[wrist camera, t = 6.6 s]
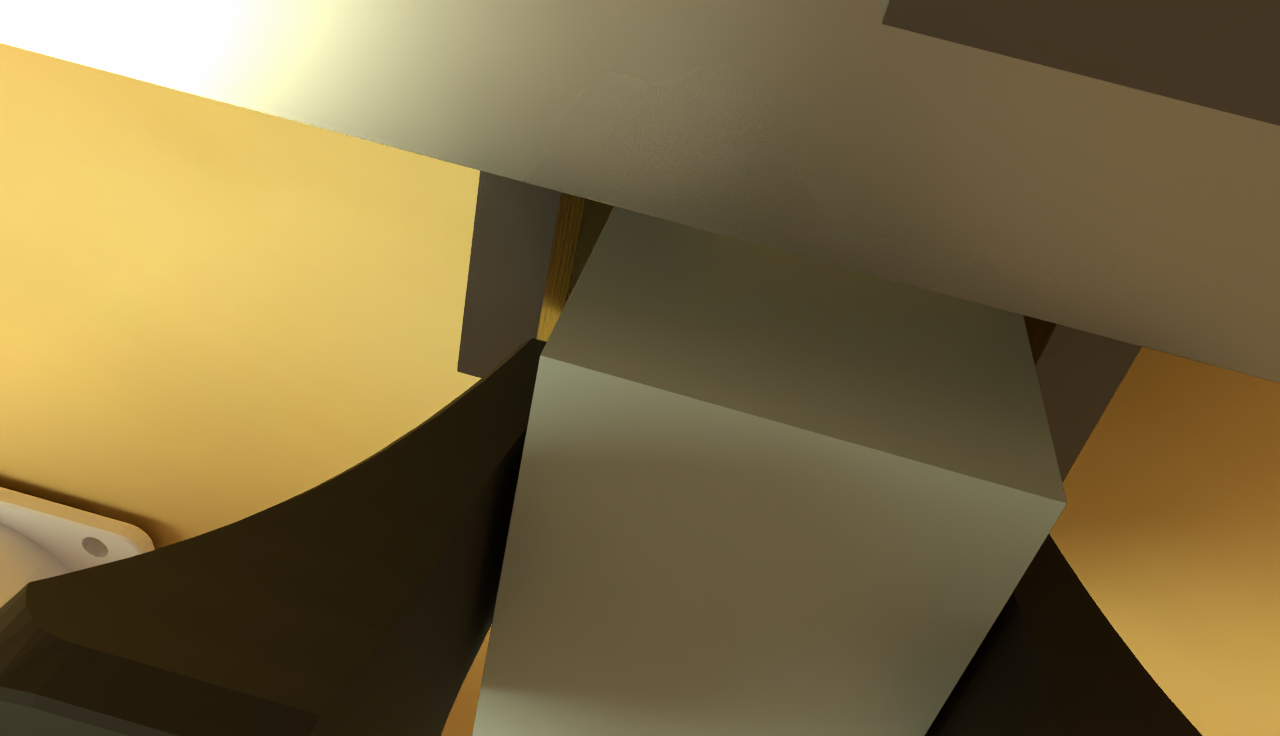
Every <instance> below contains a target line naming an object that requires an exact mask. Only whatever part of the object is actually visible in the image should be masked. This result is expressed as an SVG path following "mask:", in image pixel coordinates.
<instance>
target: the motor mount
mask: <svg viewBox="0 0 1280 736" xmlns="http://www.w3.org/2000/svg"><path fill="white" fill-rule="evenodd" d="M0 43H3V44H7V45H11V46H15V47H19V48H22V49H26V50H30V51H34V52H37V53H41V54H45V55H49V56H52V57H56V58H60V59H64V60H67V61H71V62H75V63H79V64H82V65H86V66H90V67H94V68H97V69H101V70H105V71H109V72H112V73H116V74H120V75H124V76H127V77H131V78H135V79H139V80H142V81H146V82H150V83H154V84H158V85H161V86H165V87H169V88H173V89H176V90H180V91H184V92H188V93H191V94H195V95H199V96H203V97H206V98H210V99H214V100H218V101H221V102H225V103H229V104H233V105H236V106H240V107H244V108H248V109H251V110H255V111H259V112H263V113H266V114H270V115H274V116H278V117H281V118H285V119H289V120H293V121H297V122H300V123H304V124H308V125H312V126H315V127H319V128H323V129H327V130H330V131H334V132H338V133H342V134H345V135H349V136H353V137H357V138H360V139H364V140H368V141H372V142H375V143H379V144H383V145H387V146H390V147H394V148H398V149H402V150H405V151H409V152H413V153H417V154H420V155H424V156H428V157H432V158H436V159H439V160H443V161H447V162H451V163H454V164H458V165H462V166H466V167H469V168H473V169H477V170H480V178H479V187H478V195H477V204H476V213H475V221H474V230H473V239H472V247H471V256H470V265H469V273H468V282H467V291H466V299H465V308H464V317H463V325H462V334H461V343H460V351H459V360H458V369H457V371H458V372H461V373H465V374H469V375H472V376H476V377H480V378H483V377H484V376H485V375H487V374H488V373H489V372H490V371H491V370H493V369H494V368H495V367H496V366H497V365H498V364H500V363H501V362H502V361H503V360H504V359H505V358H506V357H508V356H509V355H510V354H511V353H512V352H513V351H514V350H515V349H516V348H517V347H519V346H520V345H521V344H522V343H523V342H525V341H527V340H529V339H531V338H535V339H538V340H542V341H546V342H547V341H548V339H549V337H550V335H551V333H552V331H553V329H554V327H555V324H556V322H557V320H558V318H559V316H560V314H561V312H562V310H563V308H564V306H565V304H566V302H567V297H568V291H569V286H570V280H571V275H572V269H573V264H574V258H575V253H576V247H577V242H578V236H579V231H580V225H581V220H582V215H583V209H584V204H585V198H586V199H590V200H593V201H597V202H601V203H605V204H608V205H612V206H616V207H620V208H623V209H627V210H631V211H635V212H638V213H642V214H646V215H650V216H653V217H657V218H661V219H665V220H668V221H672V222H676V223H680V224H683V225H687V226H691V227H695V228H698V229H702V230H706V231H710V232H714V233H717V234H721V235H725V236H729V237H732V238H736V239H740V240H744V241H747V242H751V243H755V244H759V245H762V246H766V247H770V248H774V249H777V250H781V251H785V252H789V253H792V254H796V255H800V256H804V257H807V258H811V259H815V260H819V261H822V262H826V263H830V264H834V265H837V266H841V267H845V268H849V269H853V270H856V271H860V272H864V273H868V274H871V275H875V276H879V277H883V278H886V279H890V280H894V281H898V282H901V283H905V284H909V285H913V286H916V287H920V288H924V289H928V290H931V291H935V292H939V293H943V294H946V295H950V296H954V297H958V298H961V299H965V300H969V301H973V302H976V303H980V304H984V305H988V306H992V307H995V308H999V309H1003V310H1007V311H1010V312H1014V313H1018V314H1022V315H1023V317H1024V321H1025V326H1026V330H1027V334H1028V338H1029V343H1030V347H1031V351H1032V356H1033V360H1034V364H1035V368H1036V373H1037V377H1038V381H1039V386H1040V390H1041V394H1042V398H1043V403H1044V407H1045V411H1046V416H1047V420H1048V424H1049V428H1050V433H1051V437H1052V441H1053V446H1054V450H1055V454H1056V458H1057V463H1058V467H1059V471H1060V476H1061V480H1062V482H1063V481H1064V479H1065V477H1066V476H1067V474H1068V472H1069V470H1070V469H1071V467H1072V465H1073V464H1074V462H1075V460H1076V458H1077V457H1078V455H1079V453H1080V452H1081V450H1082V448H1083V446H1084V445H1085V443H1086V441H1087V440H1088V438H1089V436H1090V434H1091V433H1092V431H1093V429H1094V428H1095V426H1096V424H1097V422H1098V421H1099V419H1100V417H1101V416H1102V414H1103V412H1104V411H1105V409H1106V407H1107V405H1108V404H1109V402H1110V400H1111V399H1112V397H1113V395H1114V393H1115V392H1116V390H1117V388H1118V387H1119V385H1120V383H1121V381H1122V380H1123V378H1124V376H1125V375H1126V373H1127V371H1128V369H1129V368H1130V366H1131V364H1132V363H1133V361H1134V359H1135V357H1136V356H1137V354H1138V352H1139V351H1140V349H1141V347H1146V348H1149V349H1153V350H1157V351H1161V352H1164V353H1168V354H1172V355H1176V356H1179V357H1183V358H1187V359H1191V360H1194V361H1198V362H1202V363H1206V364H1209V365H1213V366H1217V367H1221V368H1224V369H1228V370H1232V371H1236V372H1239V373H1243V374H1247V375H1251V376H1254V377H1258V378H1262V379H1266V380H1270V381H1273V382H1277V383H1280V0H0Z"/></svg>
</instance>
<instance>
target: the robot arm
mask: <svg viewBox="0 0 1280 736" xmlns="http://www.w3.org/2000/svg"><path fill="white" fill-rule="evenodd" d="M546 343H547V342H546V341H542V340H538V339H535V338H531V339H529V340H527V341H525V342H523V343H522V344H521V345H520V346H519V347H517V348H516V349H515V350H514V351H513V352H512V353H511V354H510V355H509V356H508V357H506V358H505V359H504V360H503V361H502V362H501V363H500V364H498V365H497V366H496V367H495V368H494V369H493V370H491V371H490V372H489V373H488V374H487V375H485V376H484V377H483V378H482V379H480V380H479V381H478V382H477V383H475V384H474V385H473V386H472V387H471V388H469V389H468V390H467V391H465V392H464V393H463V394H461V395H460V396H459V397H457V398H456V399H455V400H453V401H452V402H451V403H449V404H448V405H447V406H445V407H444V408H443V409H441V410H440V411H439V412H437V413H436V414H435V415H433V416H432V417H430V418H429V419H428V420H426V421H425V422H423V423H422V424H420V425H419V426H417V427H416V428H414V429H413V430H411V431H410V432H408V433H407V434H405V435H404V436H402V437H400V438H399V439H397V440H396V441H394V442H393V443H391V444H390V445H388V446H387V447H385V448H384V449H382V450H381V451H379V452H377V453H376V454H374V455H372V456H371V457H369V458H367V459H366V460H364V461H362V462H360V463H359V464H357V465H355V466H353V467H352V468H350V469H348V470H346V471H345V472H343V473H341V474H339V475H337V476H335V477H333V478H331V479H329V480H328V481H326V482H324V483H322V484H320V485H318V486H316V487H314V488H312V489H310V490H308V491H306V492H304V493H302V494H299V495H297V496H295V497H293V498H291V499H289V500H286V501H284V502H282V503H280V504H278V505H275V506H273V507H271V508H268V509H266V510H264V511H261V512H259V513H257V514H254V515H252V516H250V517H247V518H245V519H243V520H240V521H238V522H235V523H232V524H230V525H227V526H224V527H222V528H219V529H216V530H213V531H210V532H208V533H205V534H202V535H199V536H196V537H194V538H190V539H187V540H184V541H181V542H178V543H175V544H172V545H169V546H166V547H162V548H159V549H156V550H155V548H154V545H153V542H152V540H151V539H150V537H149V536H148V535H147V534H146V533H145V532H144V531H143V530H141V529H140V528H139V527H136V526H134V525H132V524H129V523H126V522H122V521H119V520H115V519H112V518H108V517H105V516H101V515H98V514H94V513H90V512H87V511H83V510H80V509H76V508H73V507H69V506H66V505H62V504H59V503H55V502H52V501H48V500H45V499H41V498H38V497H34V496H31V495H27V494H24V493H20V492H17V491H13V490H10V489H6V488H3V487H0V736H441V734H442V731H443V728H444V726H445V723H446V720H447V718H448V715H449V713H450V711H451V708H452V706H453V704H454V701H455V699H456V697H457V695H458V692H459V690H460V688H461V685H462V683H463V681H464V679H465V677H466V675H467V673H468V671H469V669H470V667H471V665H472V663H473V661H474V659H475V657H476V655H477V653H478V651H479V649H480V647H481V645H482V642H483V640H484V638H485V636H486V634H487V632H488V630H489V628H490V626H491V624H492V622H493V616H494V610H495V605H496V599H497V594H498V588H499V583H500V577H501V571H502V566H503V560H504V555H505V549H506V544H507V538H508V532H509V527H510V521H511V516H512V510H513V504H514V499H515V493H516V488H517V482H518V477H519V471H520V465H521V460H522V454H523V449H524V443H525V438H526V432H527V426H528V421H529V415H530V410H531V404H532V399H533V393H534V387H535V382H536V376H537V371H538V365H539V360H540V355H541V353H542V351H543V349H544V347H545V345H546ZM925 736H1202V735H1201V734H1200V733H1199V731H1198V730H1197V729H1196V728H1195V727H1194V726H1193V725H1192V724H1191V722H1190V721H1189V720H1188V719H1187V718H1186V717H1185V716H1184V714H1183V713H1182V712H1181V711H1180V710H1179V709H1178V708H1177V707H1176V705H1175V704H1174V703H1173V702H1172V701H1171V700H1170V699H1169V698H1168V696H1167V695H1166V694H1165V693H1164V692H1163V690H1162V689H1161V688H1160V687H1159V686H1158V684H1157V683H1156V682H1155V681H1154V680H1153V678H1152V677H1151V676H1150V675H1149V673H1148V672H1147V671H1146V670H1145V668H1144V667H1143V666H1142V665H1141V663H1140V662H1139V661H1138V659H1137V658H1136V657H1135V655H1134V654H1133V653H1132V652H1131V650H1130V649H1129V648H1128V646H1127V645H1126V644H1125V642H1124V641H1123V640H1122V638H1121V637H1120V636H1119V635H1118V633H1117V632H1116V631H1115V629H1114V628H1113V627H1112V625H1111V624H1110V623H1109V621H1108V620H1107V618H1106V617H1105V616H1104V614H1103V613H1102V611H1101V610H1100V609H1099V607H1098V606H1097V605H1096V603H1095V602H1094V600H1093V599H1092V597H1091V596H1090V595H1089V593H1088V592H1087V590H1086V589H1085V587H1084V586H1083V584H1082V583H1081V581H1080V580H1079V578H1078V577H1077V576H1076V574H1075V573H1074V571H1073V570H1072V568H1071V567H1070V565H1069V564H1068V562H1067V561H1066V559H1065V558H1064V556H1063V554H1062V553H1061V551H1060V550H1059V548H1058V547H1057V545H1056V544H1055V542H1054V541H1053V539H1052V538H1051V536H1050V534H1048V535H1047V537H1046V539H1045V540H1044V542H1043V544H1042V545H1041V547H1040V548H1039V550H1038V552H1037V553H1036V555H1035V557H1034V558H1033V560H1032V562H1031V563H1030V565H1029V566H1028V568H1027V570H1026V571H1025V573H1024V575H1023V576H1022V578H1021V579H1020V581H1019V583H1018V584H1017V586H1016V588H1015V589H1014V591H1013V592H1012V594H1011V596H1010V597H1009V599H1008V601H1007V602H1006V604H1005V605H1004V607H1003V609H1002V610H1001V612H1000V614H999V615H998V617H997V618H996V620H995V622H994V623H993V625H992V627H991V628H990V630H989V632H988V633H987V635H986V636H985V638H984V640H983V641H982V643H981V645H980V646H979V648H978V649H977V651H976V653H975V654H974V656H973V658H972V659H971V661H970V662H969V664H968V666H967V667H966V669H965V671H964V672H963V674H962V675H961V677H960V679H959V680H958V682H957V684H956V685H955V687H954V689H953V690H952V692H951V693H950V695H949V697H948V698H947V700H946V702H945V703H944V705H943V706H942V708H941V710H940V711H939V713H938V715H937V716H936V718H935V719H934V721H933V723H932V724H931V726H930V728H929V729H928V731H927V732H926V734H925Z"/></svg>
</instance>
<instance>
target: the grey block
mask: <svg viewBox="0 0 1280 736" xmlns="http://www.w3.org/2000/svg"><path fill="white" fill-rule="evenodd" d="M1066 505H1067V501H1066V497H1065V493H1064V488H1063V484H1062V480H1061V476H1060V471H1059V467H1058V463H1057V458H1056V454H1055V450H1054V446H1053V441H1052V437H1051V433H1050V428H1049V424H1048V420H1047V416H1046V411H1045V407H1044V403H1043V398H1042V394H1041V390H1040V386H1039V381H1038V377H1037V373H1036V368H1035V364H1034V360H1033V356H1032V351H1031V347H1030V343H1029V338H1028V334H1027V330H1026V326H1025V321H1024V317H1023V315H1022V314H1018V313H1014V312H1010V311H1007V310H1003V309H999V308H995V307H992V306H988V305H984V304H980V303H976V302H973V301H969V300H965V299H961V298H958V297H954V296H950V295H946V294H943V293H939V292H935V291H931V290H928V289H924V288H920V287H916V286H913V285H909V284H905V283H901V282H898V281H894V280H890V279H886V278H883V277H879V276H875V275H871V274H868V273H864V272H860V271H856V270H853V269H849V268H845V267H841V266H837V265H834V264H830V263H826V262H822V261H819V260H815V259H811V258H807V257H804V256H800V255H796V254H792V253H789V252H785V251H781V250H777V249H774V248H770V247H766V246H762V245H759V244H755V243H751V242H747V241H744V240H740V239H736V238H732V237H729V236H725V235H721V234H717V233H714V232H710V231H706V230H702V229H698V228H695V227H691V226H687V225H683V224H680V223H676V222H672V221H668V220H665V219H661V218H657V217H653V216H650V215H646V214H642V213H638V212H635V211H631V210H627V209H623V208H620V207H616V206H614V207H613V209H612V211H611V213H610V215H609V217H608V219H607V221H606V223H605V225H604V227H603V229H602V231H601V233H600V235H599V237H598V239H597V242H596V244H595V246H594V248H593V250H592V252H591V254H590V256H589V258H588V260H587V262H586V264H585V266H584V268H583V270H582V272H581V274H580V276H579V278H578V280H577V282H576V284H575V286H574V288H573V290H572V292H571V294H570V296H569V298H568V300H567V302H566V304H565V306H564V308H563V310H562V312H561V314H560V316H559V318H558V320H557V322H556V324H555V327H554V329H553V331H552V333H551V335H550V337H549V339H548V341H547V343H546V345H545V347H544V349H543V351H542V353H541V355H540V360H539V365H538V371H537V376H536V382H535V387H534V393H533V399H532V404H531V410H530V415H529V421H528V426H527V432H526V438H525V443H524V449H523V454H522V460H521V465H520V471H519V477H518V482H517V488H516V493H515V499H514V504H513V510H512V516H511V521H510V527H509V532H508V538H507V544H506V549H505V555H504V560H503V566H502V571H501V577H500V583H499V588H498V594H497V599H496V605H495V610H494V616H493V622H492V627H491V633H490V638H489V644H488V649H487V655H486V661H485V666H484V672H483V677H482V683H481V688H480V694H479V700H478V705H477V711H476V716H475V722H474V727H473V733H472V736H925V734H926V732H927V731H928V729H929V728H930V726H931V724H932V723H933V721H934V719H935V718H936V716H937V715H938V713H939V711H940V710H941V708H942V706H943V705H944V703H945V702H946V700H947V698H948V697H949V695H950V693H951V692H952V690H953V689H954V687H955V685H956V684H957V682H958V680H959V679H960V677H961V675H962V674H963V672H964V671H965V669H966V667H967V666H968V664H969V662H970V661H971V659H972V658H973V656H974V654H975V653H976V651H977V649H978V648H979V646H980V645H981V643H982V641H983V640H984V638H985V636H986V635H987V633H988V632H989V630H990V628H991V627H992V625H993V623H994V622H995V620H996V618H997V617H998V615H999V614H1000V612H1001V610H1002V609H1003V607H1004V605H1005V604H1006V602H1007V601H1008V599H1009V597H1010V596H1011V594H1012V592H1013V591H1014V589H1015V588H1016V586H1017V584H1018V583H1019V581H1020V579H1021V578H1022V576H1023V575H1024V573H1025V571H1026V570H1027V568H1028V566H1029V565H1030V563H1031V562H1032V560H1033V558H1034V557H1035V555H1036V553H1037V552H1038V550H1039V548H1040V547H1041V545H1042V544H1043V542H1044V540H1045V539H1046V537H1047V535H1048V534H1049V532H1050V531H1051V529H1052V527H1053V526H1054V524H1055V522H1056V521H1057V519H1058V518H1059V516H1060V514H1061V513H1062V511H1063V509H1064V508H1065V506H1066Z"/></svg>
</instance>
